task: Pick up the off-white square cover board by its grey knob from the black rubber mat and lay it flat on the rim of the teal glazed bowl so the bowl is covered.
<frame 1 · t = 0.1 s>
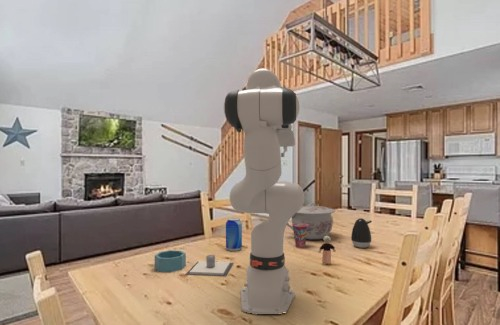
hand: (272, 157, 140), 48 cm above the table, tool pointing down, fingers open, 8 cm apart
chamber pot: (311, 237, 191), on the table
cover board: (210, 268, 135), resting on mat
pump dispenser: (361, 247, 169), on the table
grandmother figurine: (327, 264, 141), on the table
mat: (210, 269, 135), on the table
bowl: (170, 268, 137), on the table
cup: (301, 247, 170), on the table
beer can: (233, 249, 166), on the table
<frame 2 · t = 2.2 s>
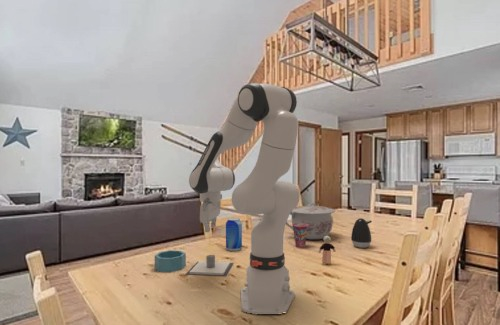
hand: (210, 229, 135), 17 cm above the table, tool pointing down, fingers open, 8 cm apart
nothing on the table moved.
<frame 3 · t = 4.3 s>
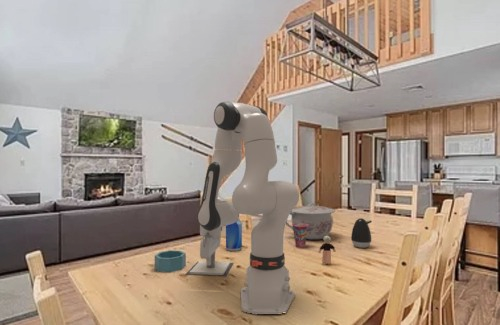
hand: (210, 262, 135), 3 cm above the table, tool pointing down, fingers closed on cover board, 4 cm apart
cover board: (210, 268, 135), resting on mat, touching gripper
everything else where it was.
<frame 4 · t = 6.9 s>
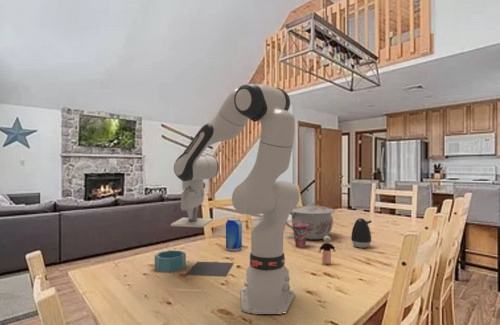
hand: (192, 217, 136), 22 cm above the table, tool pointing down, fingers closed on cover board, 4 cm apart
cover board: (192, 223, 136), point 20 cm above the table, touching gripper
everything else where it was.
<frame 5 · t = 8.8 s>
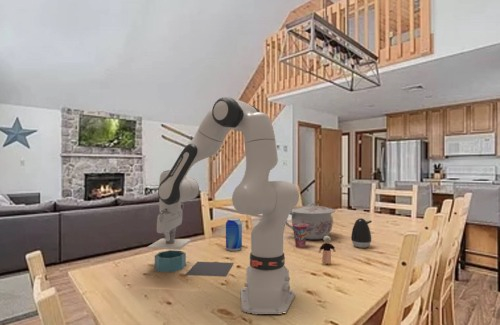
hand: (170, 239, 137), 13 cm above the table, tool pointing down, fingers closed on cover board, 4 cm apart
cover board: (170, 244, 137), point 10 cm above the table, touching gripper
everything else where it was.
when the fingers open (10 cm above the table, at t = 10.0 s): cover board drops 1 cm, resting on bowl.
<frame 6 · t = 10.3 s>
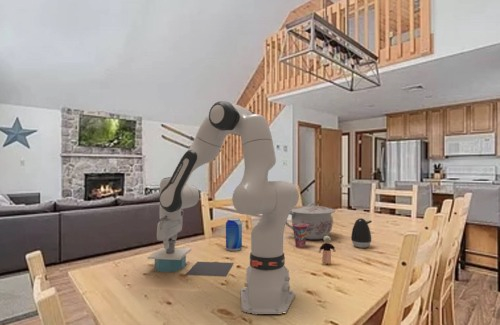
hand: (170, 246, 137), 10 cm above the table, tool pointing down, fingers open, 6 cm apart
cover board: (170, 254, 137), point 6 cm above the table, touching bowl
everything else where it was.
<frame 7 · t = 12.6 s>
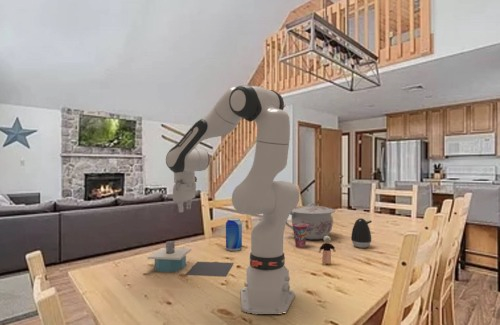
hand: (185, 210, 138), 25 cm above the table, tool pointing down, fingers open, 8 cm apart
nothing on the table moved.
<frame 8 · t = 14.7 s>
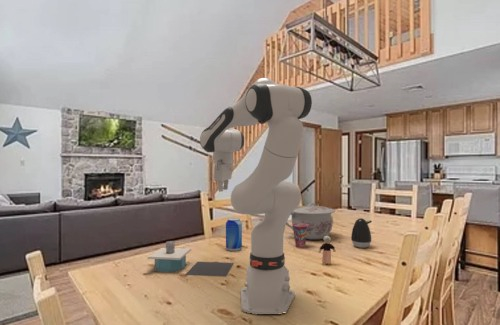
hand: (223, 190, 142), 33 cm above the table, tool pointing down, fingers open, 8 cm apart
nothing on the table moved.
at the end: cover board 0.0 cm off-centre on the bowl, point 6.0 cm above the bowl's base; cover board tilted 0°; the gripper is holding nothing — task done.
